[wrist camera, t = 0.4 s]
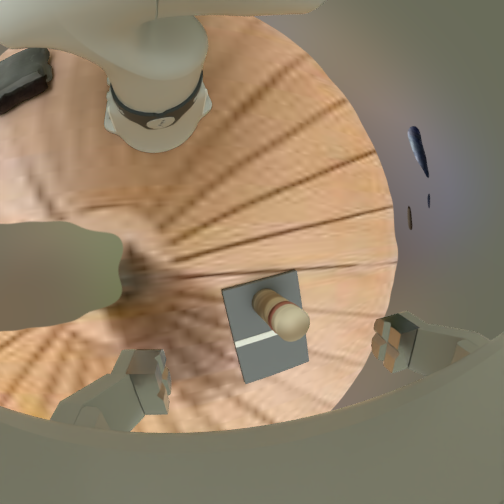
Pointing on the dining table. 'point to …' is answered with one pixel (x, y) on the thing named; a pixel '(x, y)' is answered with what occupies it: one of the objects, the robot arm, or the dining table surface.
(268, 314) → the skittle
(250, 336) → the lane mat
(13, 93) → the rock
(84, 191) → the dining table surface
